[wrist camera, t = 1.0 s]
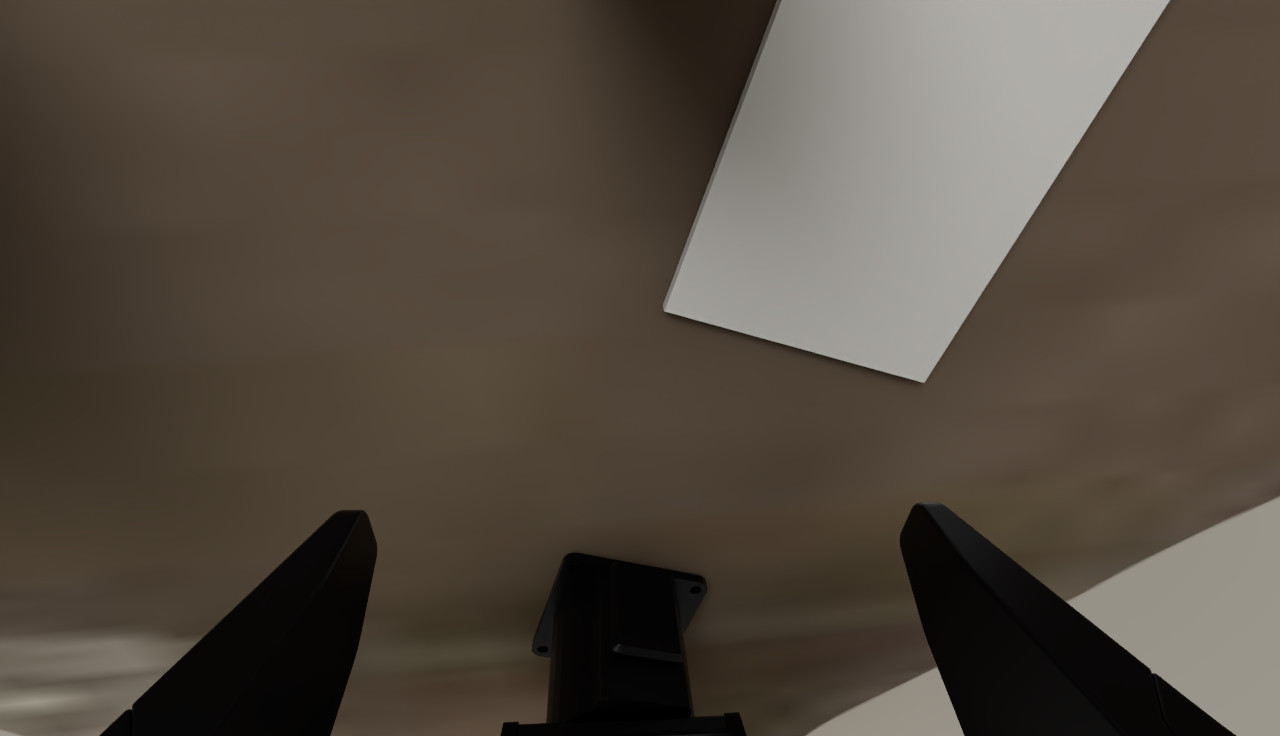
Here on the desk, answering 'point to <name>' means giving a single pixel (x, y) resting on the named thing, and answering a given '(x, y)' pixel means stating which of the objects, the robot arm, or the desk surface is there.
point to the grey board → (893, 166)
